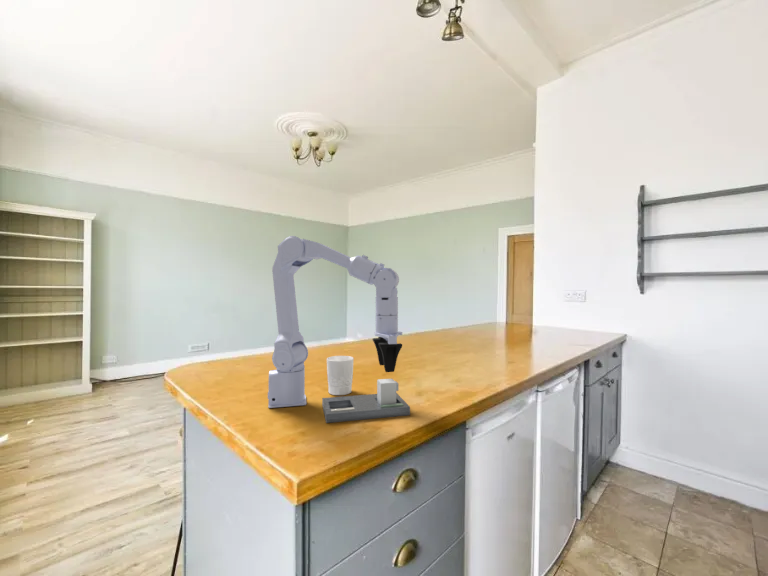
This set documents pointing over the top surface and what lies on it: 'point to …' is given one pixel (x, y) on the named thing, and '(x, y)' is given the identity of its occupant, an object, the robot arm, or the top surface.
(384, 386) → the plug
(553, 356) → the top surface
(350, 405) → the grey socket base
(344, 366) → the white cup
